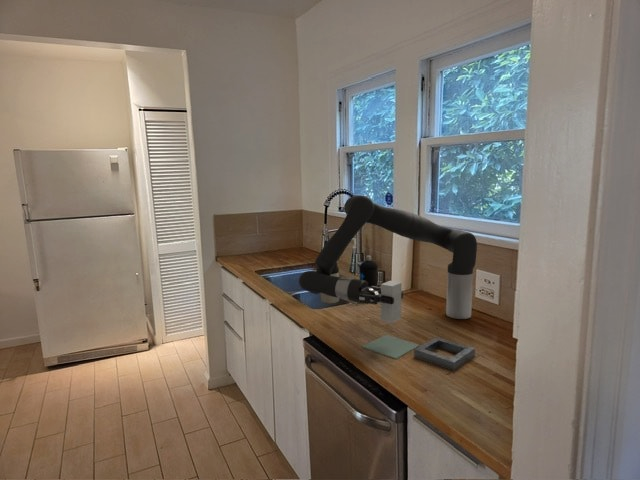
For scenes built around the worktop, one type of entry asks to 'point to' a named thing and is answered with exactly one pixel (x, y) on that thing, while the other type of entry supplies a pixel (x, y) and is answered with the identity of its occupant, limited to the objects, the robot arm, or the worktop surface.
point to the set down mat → (391, 346)
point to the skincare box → (391, 311)
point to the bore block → (452, 363)
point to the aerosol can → (369, 272)
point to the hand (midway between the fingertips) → (398, 298)
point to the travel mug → (331, 299)
